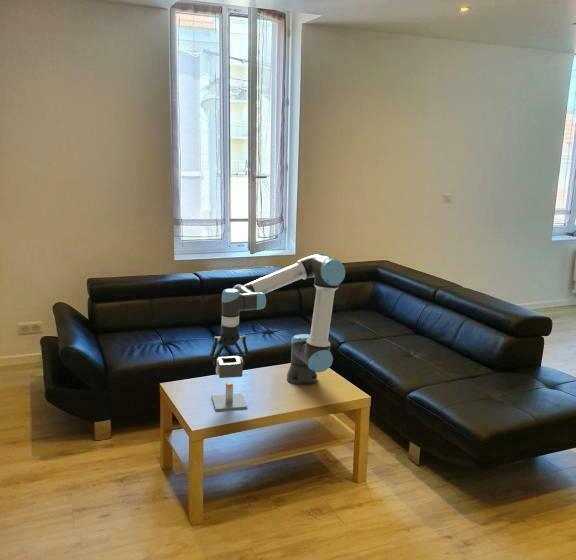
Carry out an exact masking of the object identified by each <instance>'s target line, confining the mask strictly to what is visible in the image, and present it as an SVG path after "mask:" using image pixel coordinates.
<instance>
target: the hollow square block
mask: <svg viewBox="0 0 576 560" xmlns="http://www.w3.org/2000/svg"><path fill="white" fill-rule="evenodd" d="M240 357H241V356H239V355H231V356H229V355H227V356H219V357H218V360H219V368H218V374H217V376H218V379H225V378H226V379H227V378H241V377H242V378H243V373H242V371H243V367H244V365H243V363H242V361H241V359H240ZM243 372H244V371H243Z"/></svg>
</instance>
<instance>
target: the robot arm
mask: <svg viewBox="0 0 576 560" xmlns="http://www.w3.org/2000/svg"><path fill="white" fill-rule="evenodd" d="M345 276H346V268H345V266H344V264H343V263H342V262H341V261H340V260H338V259H337V258H335V257H331V256H328V255H326V254H322V253H316V254H312V255H309V256H306V257H303V258H301V259H298V260H296V262H295V263H293V264H292V265H289V266H286V267H284V268H282V269H280V270H278V271H274V272H272V273H270V274H268V275H265V276H263V277H259V278H257V279H256V280H253V281H250V282H248V283H245V284H236V285H234V286H233V287H232V288H226V289H223V291H222V293H221V329H220V330H221V333H220V336H216V335H214V337H213V343H212V347H211V351H210V353H209V358H210V360H213V367H215V375H218V368H219V360H218V357H220V355H221V353H222V352H223V350H224V349H225V348H226V347H227V346H228V347H229V346H235V347H236V349H237V352H239V354H240V355H241V356H239V357H240V359H241V361H242V363H243V366H246V358H250V352H249V348H248V345H247V341H246V339H247V337H246V336H245V334H242V335H240V333H239V332H240V331H239V330H240V326H239V323H240V312H243V311H258V310H263V309H265V308H266V306H267V298H266V295H265V294H268V293H270V292H272V291H274V290H275V291H276V290H277V289H280V288H283V287H284V286H287V285H289V284H293V283H294V282H297V281H299V280H301V279H302V280H307V279H309V278H314V280H313V286H314V287H315V290H316V291H315V298H314V306H313V313H312V318H311V319H312V321H311V327H310V334H309V333H308V334H307V333H300V334H295V335H294V336H292V337H291V342H290V343H291V344H290V345H291V352H290V366H289V368H288V371H287V373H286V380H287V382H288V383H291V384H293V385H298V386H309V385H313V384H315V383H317V381H318V374H317V373H323V372H325V371H327V370H328V369H330V368H331V366H332V364H333V361H334V357H333V355H332V352H331V350H330V349H331V342H330V341H329V335H330V327H331V323H332V322H331V321H332V314H333V305H334V299H335V294H336V293H335V292H336V290H338V289H339V288H340V284H342V282H343V281H344V280H345ZM239 339H240V342H241V341H242V346H243V349H244V352H243V350H242V349H241V347H240V345H239V344H238V341H239ZM220 341H222V342H221V343H220V345H219V347H218V343H219V342H220ZM217 347H218V349H217ZM216 349H217V351H216ZM243 373H244V371H242V374H243Z"/></svg>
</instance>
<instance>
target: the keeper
mask: <svg viewBox="0 0 576 560" xmlns="http://www.w3.org/2000/svg"><path fill="white" fill-rule="evenodd" d="M211 400H212V403H213V406H214V410H215V411H216V412H220V411H233V410H246V409H248V405H247V402H246V400H245V398H244V395H243V393H241V392H240V393H234V384H233V383H232V382H227V383H225V394H217V395H215V394H214V395H211Z"/></svg>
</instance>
